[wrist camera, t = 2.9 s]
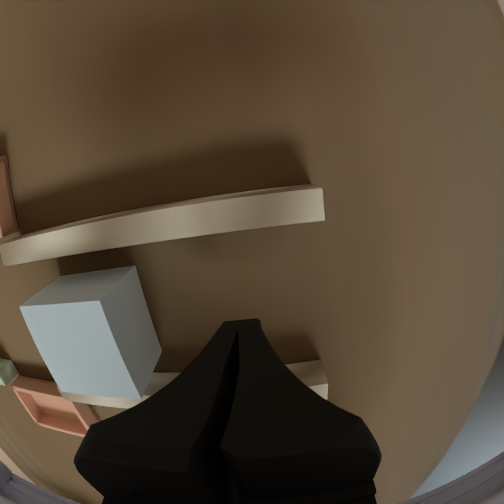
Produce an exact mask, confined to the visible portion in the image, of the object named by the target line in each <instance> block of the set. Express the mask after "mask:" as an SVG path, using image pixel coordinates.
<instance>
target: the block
mask: <svg viewBox="0 0 504 504" xmlns="http://www.w3.org/2000/svg"><path fill="white" fill-rule="evenodd" d="M19 307H20V310H21V312H22V315H23V317H24V319H25V322H26V324H27V326H28V329H29V331H30V333H31V335H32V337H33V340H34V342H35V344H36V346H37V348H38V350H39V352H40V354H41V356H42V358H43V360H44V362H45V364H46V365H47V367H48V369H49V371H50V373H51V375H52V376H53V378H54V380H55V382H56V383H57V385H58V387H59V388H60V390H61V391H62V392H69V393H76V394H84V395H93V396H103V397H115V398H130V399H142V397H143V394H144V392H145V390H146V387H147V385H148V383H149V380H150V378H151V375H152V373H153V371H154V368H155V366H156V364H157V361H158V359H159V357H160V355H161V352H162V349H161V346H160V343H159V341H158V338H157V335H156V332H155V329H154V326H153V323H152V320H151V317H150V314H149V311H148V307H147V304H146V301H145V298H144V294H143V291H142V288H141V284H140V281H139V277H138V273H137V270H136V266H135V265H134V266H127V267H120V268H113V269H106V270H99V271H92V272H85V273H78V274H71V275H64V276H60V277H58V278H57V279H55V280H54V281H53V282H51V283H50V284H48V285H47V286H46V287H44V288H43V289H42V290H40V291H39V292H37V293H36V294H35V295H33V296H32V297H31V298H29V299H28V300H27V301H25V302H24V303H23V304H22V305H20V306H19Z"/></svg>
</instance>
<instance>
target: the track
mask: <svg viewBox="0 0 504 504" xmlns="http://www.w3.org/2000/svg"><path fill="white" fill-rule="evenodd" d="M324 220H325V215H324V203H323V191H322V188H321V187H318V186H316V185H313V184H305V185H296V186H286V187H277V188H268V189H260V190H252V191H244V192H237V193H229V194H222V195H215V196H209V197H202V198H196V199H189V200H183V201H177V202H171V203H165V204H160V205H154V206H149V207H143V208H138V209H133V210H128V211H122V212H117V213H113V214H108V215H103V216H98V217H94V218H89V219H85V220H80V221H76V222H71V223H67V224H63V225H59V226H55V227H51V228H46V229H43V230H39V231H35V232H31V233H27V234H23V235H20V236H18V237H15V238H13V239H11V240H9V241H6V242H4V243H2V244H0V253H1V257H2V261H3V264H4V267H5V266H10V265H16V264H21V263H27V262H33V261H38V260H44V259H50V258H56V257H62V256H68V255H74V254H80V253H86V252H92V251H99V250H105V249H112V248H118V247H125V246H131V245H138V244H145V243H152V242H159V241H166V240H173V239H180V238H187V237H194V236H202V235H209V234H217V233H224V232H232V231H240V230H248V229H256V228H264V227H272V226H280V225H289V224H297V223H306V222H315V221H324ZM285 365H286V366H287V367H288V368H289V369H290V370H291V371H292V372H293V373H294V374H295V376H296V377H298V378H299V379H300V380H301V381H302V382H303V383H304V384H305V385H307V386H308V387H309V388H311V389H312V390H313V391H315V392H316V393H317V394H319V395H320V396H321V397H323V398H324V399H327V395H328V382H327V379H326V375H325V372H324V369H323V366H322V362H321V359H320V360H314V361H307V362H300V363H293V364H285ZM17 373H18V371H17V370H16V368H15V366H14V364H13V362H12V360H7V359H2V358H0V385H4V386H6V385H7V384H8V383H9V382H10V381H11V380H12V378H13V377H14V376H15V375H16V374H17ZM180 373H181V372H166V373H152V375H151V378H150V380H149V383H148V385H147V387H146V390H145V392H144V394H143V397H142V399H130V398H115V397H103V396H93V395H84V394H76V393H69V392H62V391H61V390H60V388H59V387H58V385H57V386H56V387H57V388H58V390H59V392H60V393H61V395H62V397H63V398H64V400H67V401H73V402H79V403H86V404H93V405H100V406H108V407H117V408H128V409H129V408H131V407H133V406H135V405H137V404H139V403H140V402H142V401H144V400H146V399H147V398H149V397H150V396H152V395H153V394H155V393H156V392H157V391H159V390H160V389H162V388H163V387H165V386H166V385H167V384H169V383H170V382H171V381H172V380H173V379H175V378H176V377H177V376H178V375H179V374H180Z"/></svg>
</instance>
